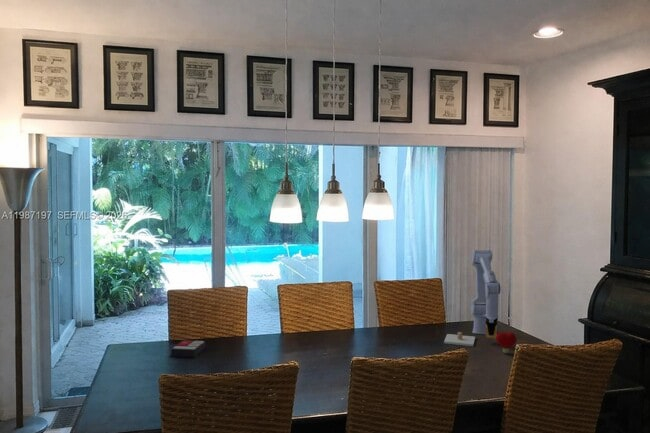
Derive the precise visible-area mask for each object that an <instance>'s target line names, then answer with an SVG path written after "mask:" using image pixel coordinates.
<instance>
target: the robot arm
mask: <svg viewBox="0 0 650 433" xmlns="http://www.w3.org/2000/svg"><path fill="white" fill-rule="evenodd" d="M492 260H493V251H492V250H491V249H472V250H471V265H472V266H474V270H475V290H476V291H475V294H476V296H475V298H473V299H472V300H471V302H470V305H471V306H470V313H471V315H472V316H473V328H472V333H471V334H476V335H477V334H478V335H485V336H486V325H487V327H488V333H489V335H492V336H493V335H494V331H495V327H496V326H497V324H498V323H499V322H498V320H499V295H500V294H501V288H502V287H501V284H500V282H499V281H498V280H497V277H496V274H495V272H494V271H493V270H492V266H491V263H492Z"/></svg>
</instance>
